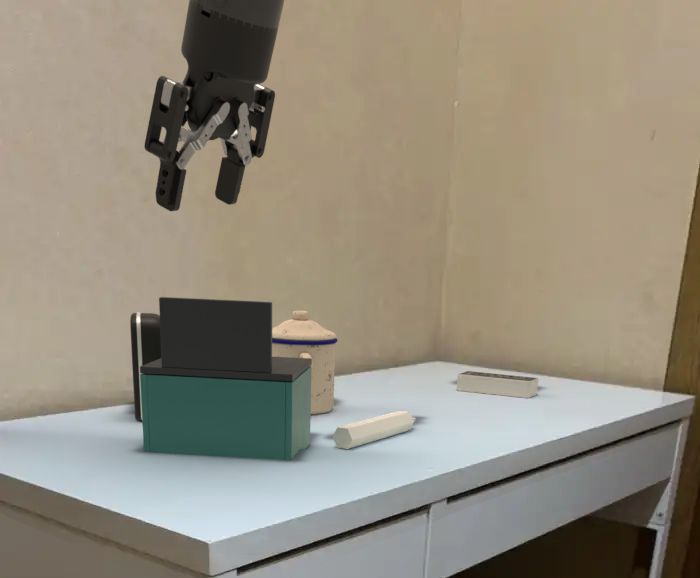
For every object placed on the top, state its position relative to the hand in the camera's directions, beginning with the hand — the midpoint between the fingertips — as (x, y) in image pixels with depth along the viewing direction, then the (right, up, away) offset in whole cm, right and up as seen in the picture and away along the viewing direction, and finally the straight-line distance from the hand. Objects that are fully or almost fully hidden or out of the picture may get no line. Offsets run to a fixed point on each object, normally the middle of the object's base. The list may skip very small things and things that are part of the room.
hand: (196, 204), depth 87 cm
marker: (+18, -19, +15) cm, 30 cm away
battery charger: (-9, -15, +21) cm, 28 cm away
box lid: (+3, -15, +2) cm, 15 cm away
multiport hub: (+36, -6, +48) cm, 60 cm away
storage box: (+3, -22, +5) cm, 23 cm away
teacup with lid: (+8, -13, +28) cm, 32 cm away
